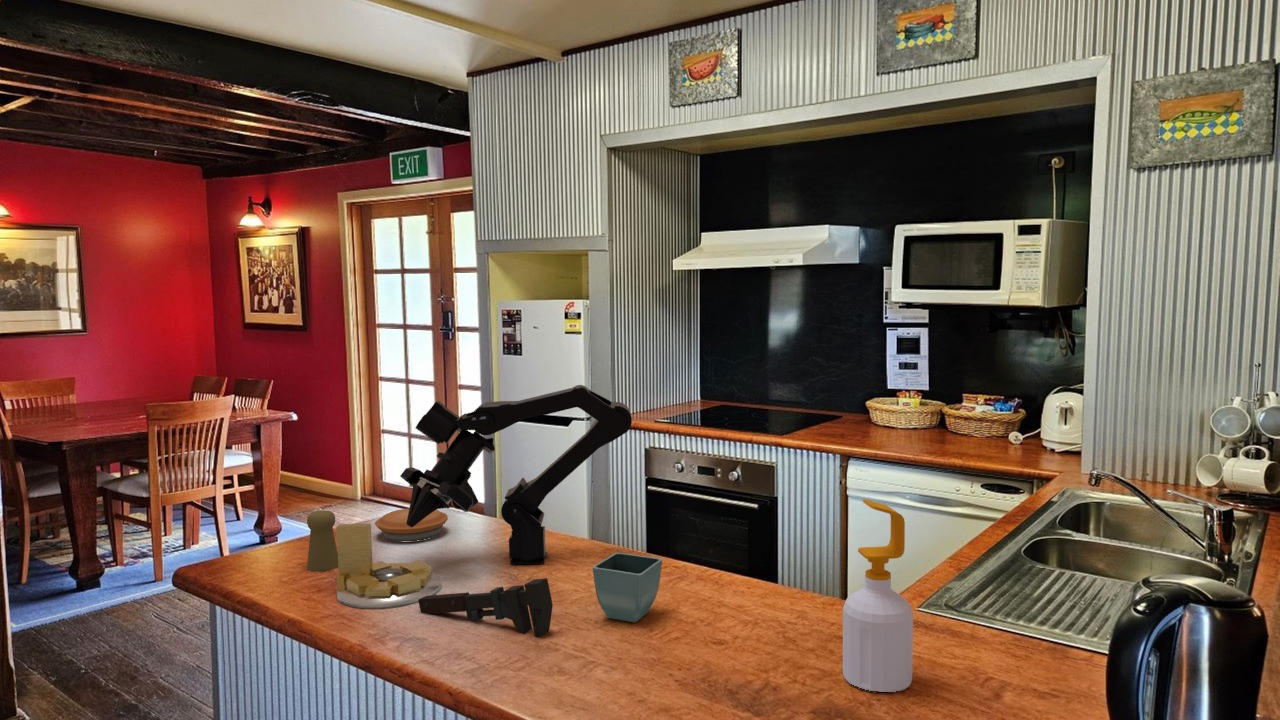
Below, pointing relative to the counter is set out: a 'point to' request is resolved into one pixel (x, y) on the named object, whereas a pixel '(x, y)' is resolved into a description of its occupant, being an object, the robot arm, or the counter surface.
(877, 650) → the soap bottle
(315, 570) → the olive pepper mill
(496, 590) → the adjustable wrench
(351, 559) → the tan block ring
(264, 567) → the counter surface
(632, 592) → the flower pot
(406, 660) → the counter surface
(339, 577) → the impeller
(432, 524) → the pie
